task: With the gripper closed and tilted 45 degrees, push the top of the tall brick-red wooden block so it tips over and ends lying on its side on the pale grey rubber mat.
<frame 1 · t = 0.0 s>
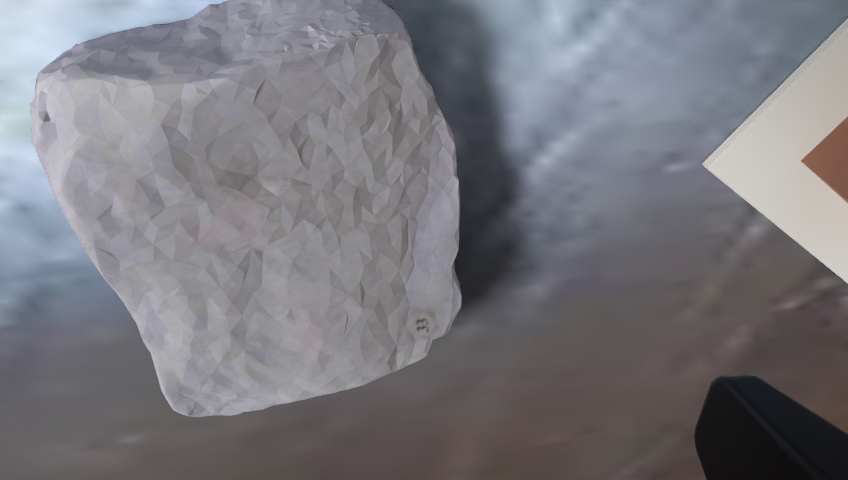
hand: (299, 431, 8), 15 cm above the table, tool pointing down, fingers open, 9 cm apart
stone block: (289, 182, 23), on the table
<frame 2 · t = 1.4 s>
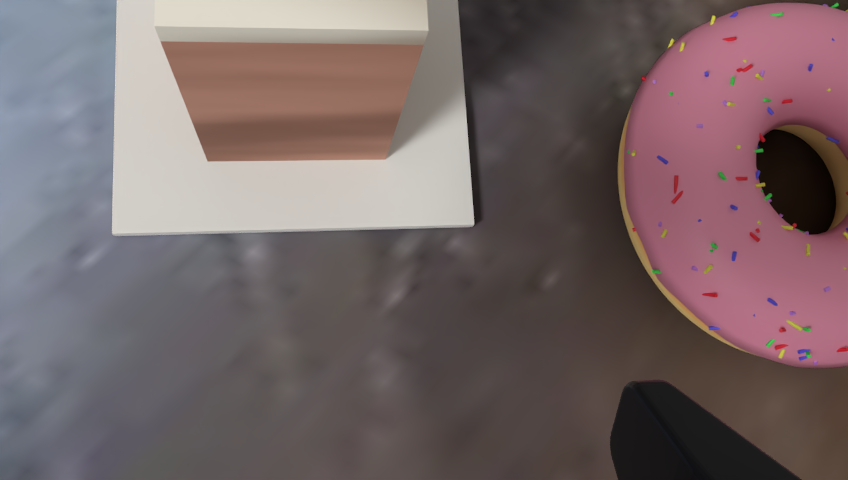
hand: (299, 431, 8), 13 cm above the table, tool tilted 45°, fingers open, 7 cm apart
doughnut: (756, 198, 25), on the table
brick block: (295, 78, 23), resting on rubber mat
rubber mat: (293, 4, 23), on the table
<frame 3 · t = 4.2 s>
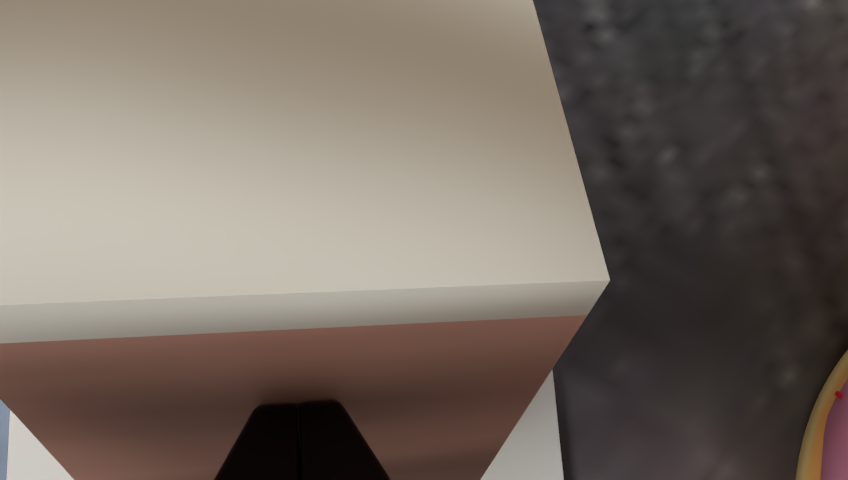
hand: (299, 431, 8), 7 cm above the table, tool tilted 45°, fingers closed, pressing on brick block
brick block: (296, 386, 14), point 1 cm above the table, tilted 19°, touching gripper, rubber mat
rubber mat: (293, 268, 15), on the table
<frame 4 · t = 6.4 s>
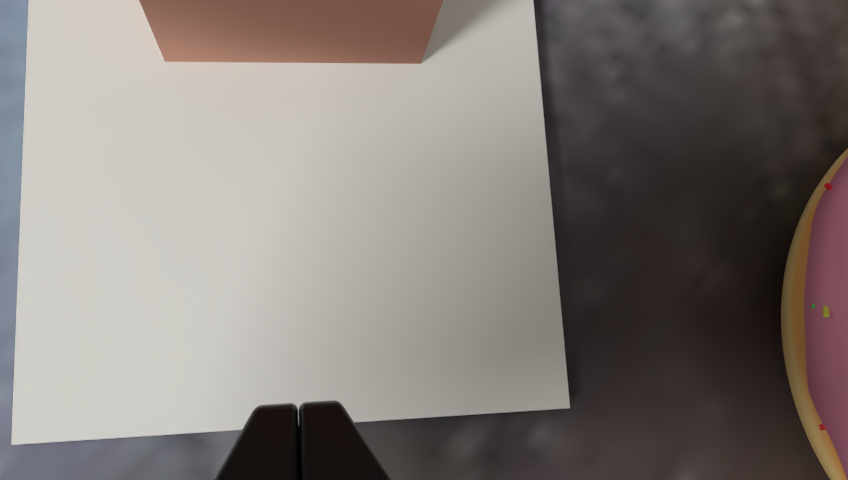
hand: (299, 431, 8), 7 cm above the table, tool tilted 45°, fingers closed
brick block: (294, 0, 13), point 3 cm above the table, tilted 90°, touching rubber mat
rubber mat: (296, 69, 16), on the table
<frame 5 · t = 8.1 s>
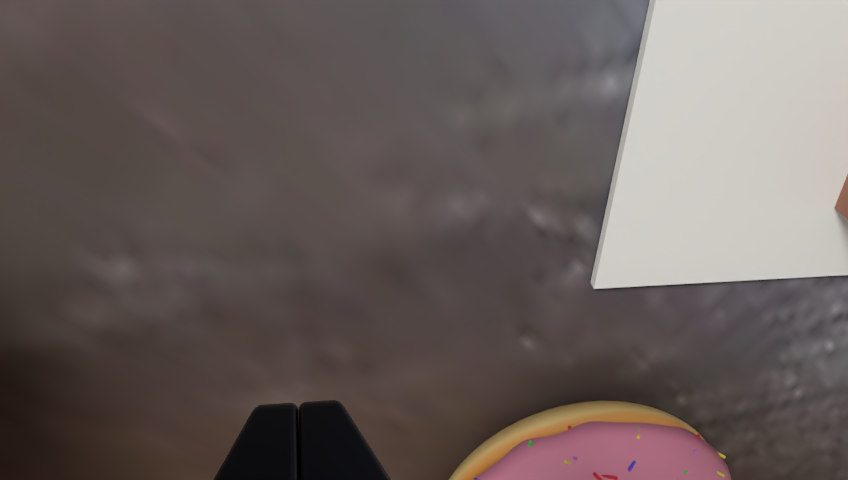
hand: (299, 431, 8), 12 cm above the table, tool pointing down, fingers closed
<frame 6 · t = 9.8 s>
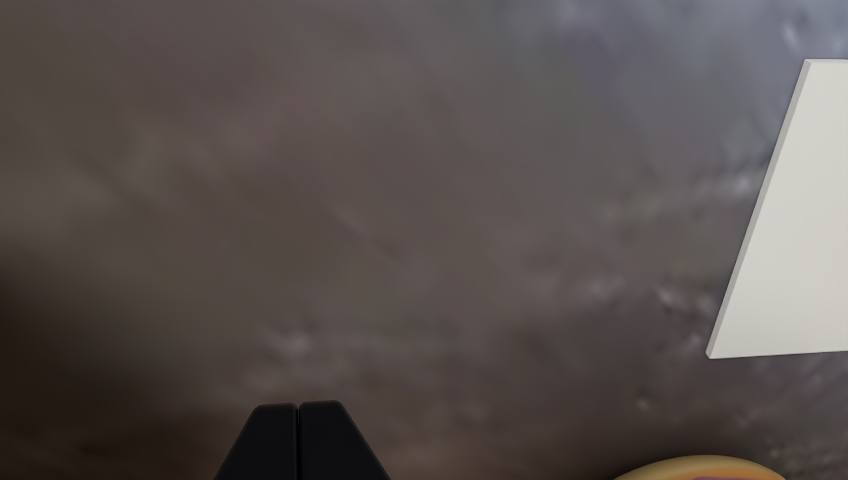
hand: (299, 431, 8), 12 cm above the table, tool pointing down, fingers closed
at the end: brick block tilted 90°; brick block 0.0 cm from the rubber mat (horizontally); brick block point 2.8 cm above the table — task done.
